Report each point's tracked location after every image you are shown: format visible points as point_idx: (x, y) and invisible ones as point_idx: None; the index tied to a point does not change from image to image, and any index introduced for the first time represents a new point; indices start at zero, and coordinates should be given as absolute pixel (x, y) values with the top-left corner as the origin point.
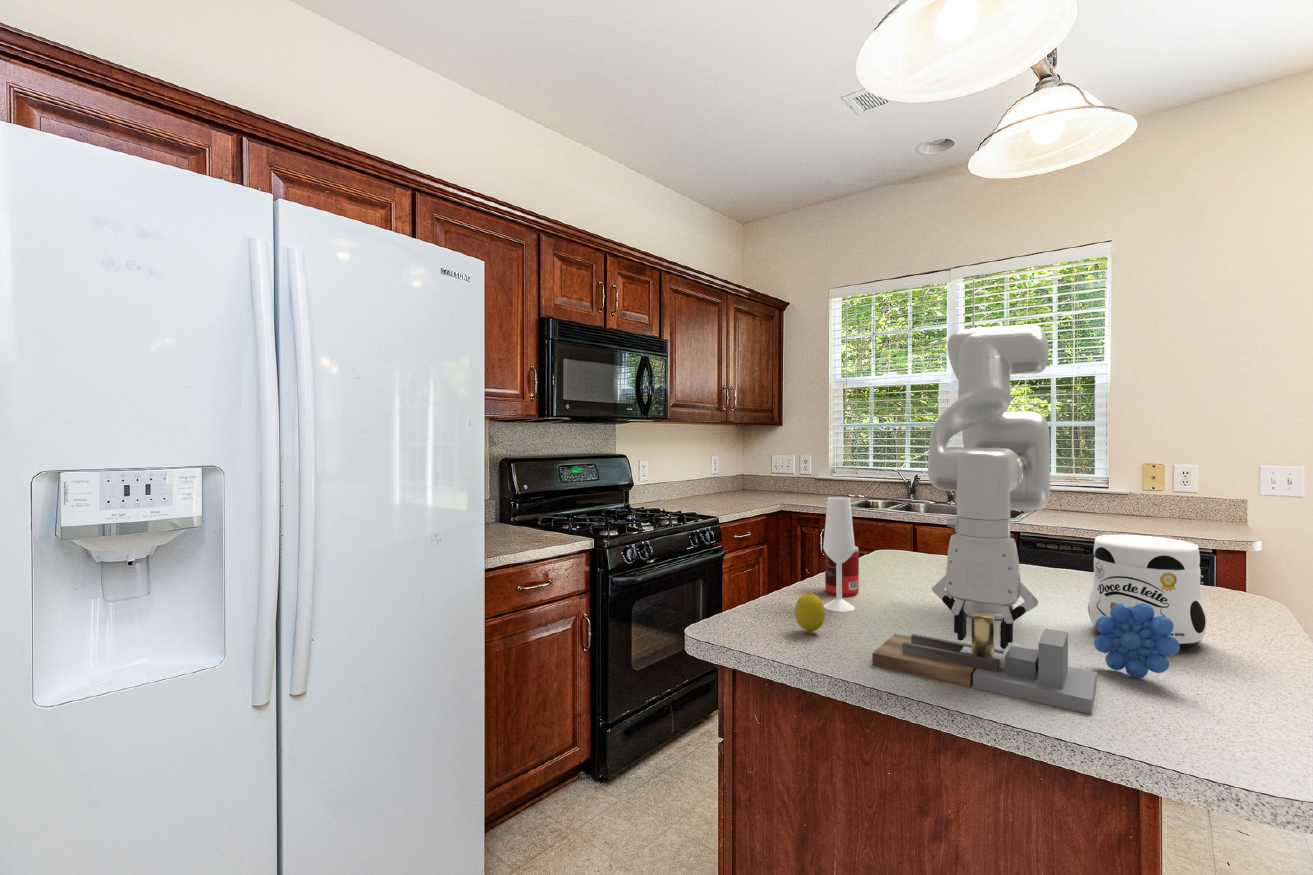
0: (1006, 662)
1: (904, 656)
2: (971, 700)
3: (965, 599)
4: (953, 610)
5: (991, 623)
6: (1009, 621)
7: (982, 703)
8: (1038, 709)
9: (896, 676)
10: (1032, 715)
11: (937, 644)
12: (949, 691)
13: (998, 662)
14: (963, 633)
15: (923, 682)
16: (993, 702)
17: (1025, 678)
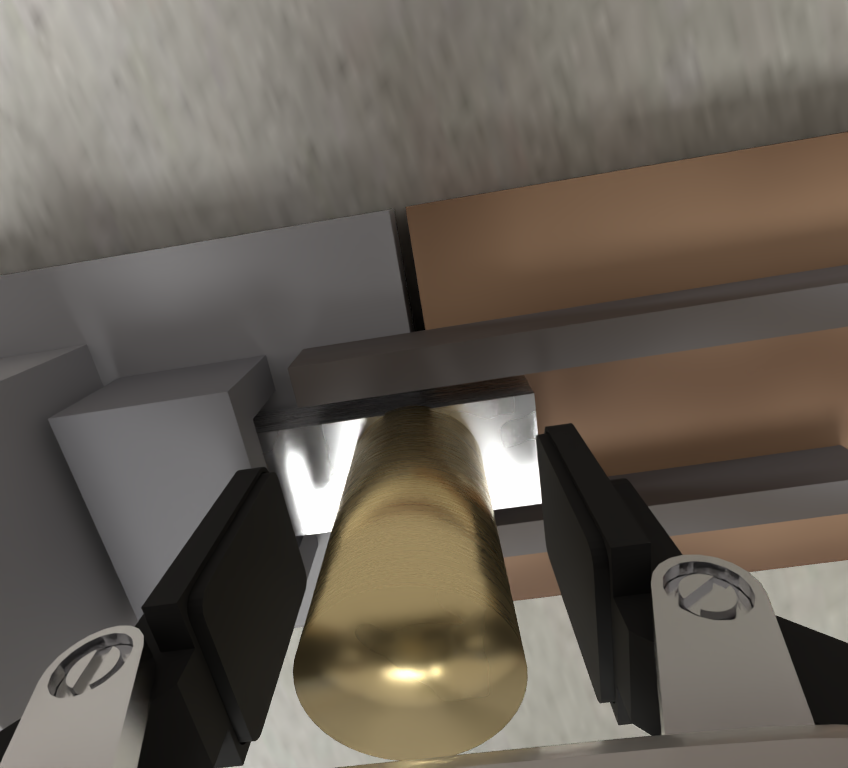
0: (232, 380)
1: (841, 204)
2: (328, 4)
3: (633, 744)
4: (735, 597)
5: (310, 606)
6: (99, 655)
7: (268, 8)
8: (53, 167)
9: (800, 35)
10: (28, 53)
11: (699, 481)
12: (469, 46)
13: (311, 419)
14: (548, 485)
15: (633, 70)
16: (236, 77)
17: (163, 367)
